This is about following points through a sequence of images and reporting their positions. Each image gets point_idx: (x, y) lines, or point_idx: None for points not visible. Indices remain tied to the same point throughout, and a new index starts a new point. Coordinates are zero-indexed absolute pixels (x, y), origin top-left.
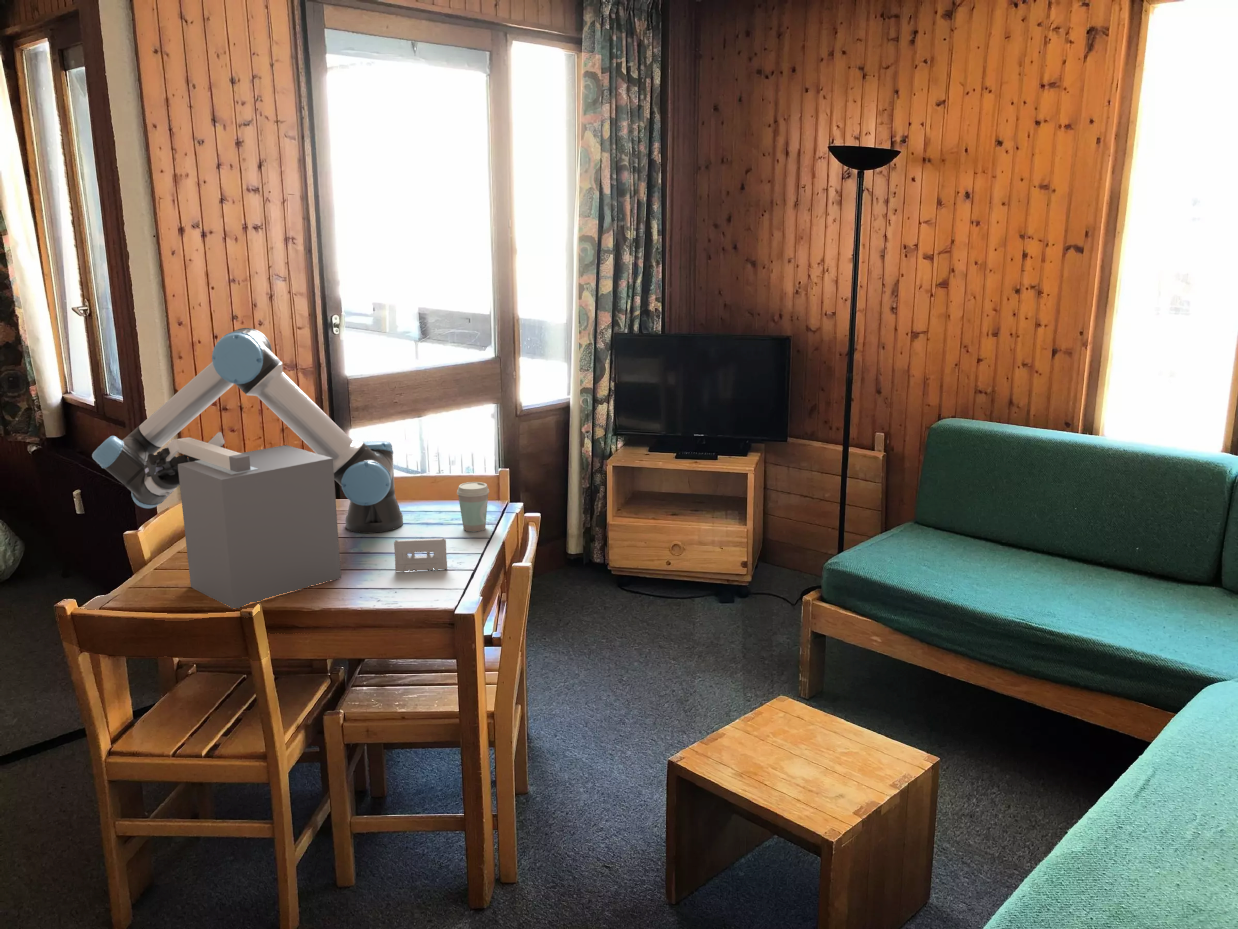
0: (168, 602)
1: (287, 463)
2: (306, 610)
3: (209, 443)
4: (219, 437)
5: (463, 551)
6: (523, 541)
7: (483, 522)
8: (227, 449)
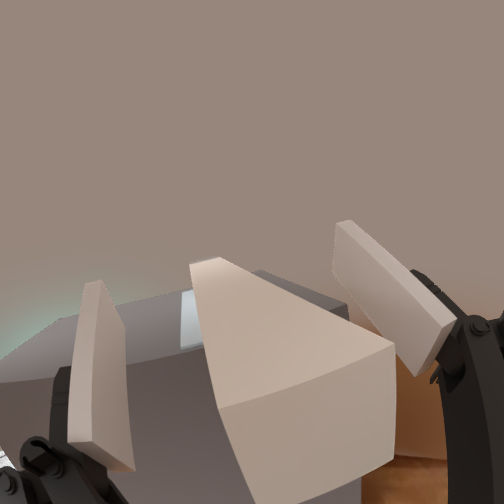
0: (392, 481)
1: (121, 308)
2: None
3: (100, 424)
4: (111, 305)
5: (12, 464)
6: None
7: None
8: (192, 270)
